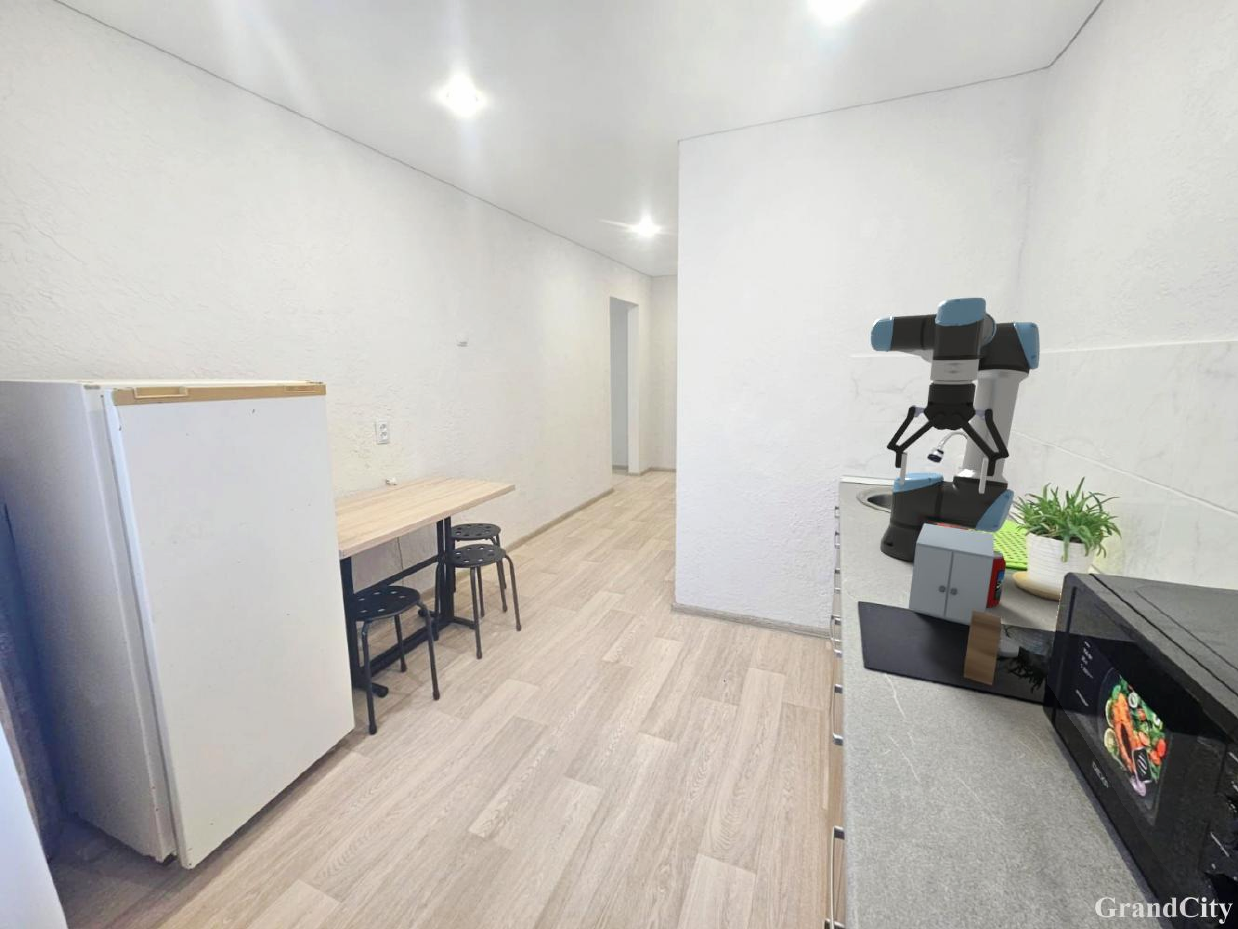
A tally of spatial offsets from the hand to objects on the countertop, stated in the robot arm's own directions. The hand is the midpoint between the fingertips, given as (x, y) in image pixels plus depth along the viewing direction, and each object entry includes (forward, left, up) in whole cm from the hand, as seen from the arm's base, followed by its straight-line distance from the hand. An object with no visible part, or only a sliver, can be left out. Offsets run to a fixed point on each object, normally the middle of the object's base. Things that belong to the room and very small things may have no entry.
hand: (940, 487), depth 99 cm
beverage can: (-16, +10, -29) cm, 35 cm away
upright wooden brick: (+11, +10, -29) cm, 33 cm away
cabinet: (+3, +4, -29) cm, 30 cm away
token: (+5, +13, -29) cm, 33 cm away
